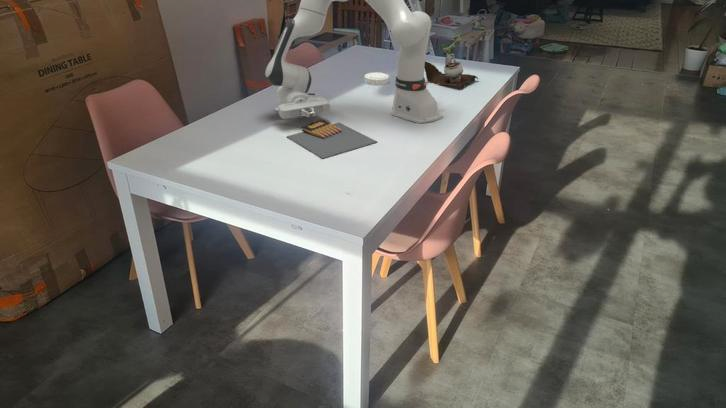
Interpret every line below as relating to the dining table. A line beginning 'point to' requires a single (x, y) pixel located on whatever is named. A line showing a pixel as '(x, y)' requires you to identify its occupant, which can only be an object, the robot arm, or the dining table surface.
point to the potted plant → (448, 70)
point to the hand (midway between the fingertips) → (311, 114)
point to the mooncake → (376, 78)
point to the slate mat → (332, 141)
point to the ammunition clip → (320, 128)
